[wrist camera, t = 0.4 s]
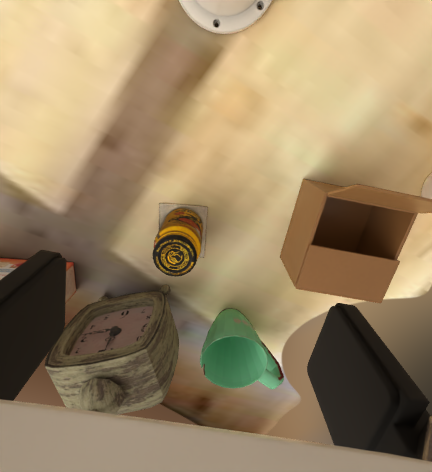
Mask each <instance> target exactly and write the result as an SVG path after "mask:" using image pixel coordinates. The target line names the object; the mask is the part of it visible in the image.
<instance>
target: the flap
mask: <svg viewBox="0 0 432 472" xmlns="http://www.w3.org/2000/svg"><path fill="white" fill-rule="evenodd" d="M328 195H330V196H335V197H341V198H346V199H351V200H356V201H361V202H366V203H371V204H376V205H381V206H386V207H391V208H396V209H401V210H406V211H412V212H417V213H432V199H429V198H424V197H419V196H414V195H409V194H404V193H399V192H394V191H389V190H384V189H379V188H374V187H370V186H365V185H360V184H356V185H352V186H349V187H345V188H342V189H338V190H335V191H331V192H328Z"/></svg>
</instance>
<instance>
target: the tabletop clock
mask: <svg viewBox="0 0 432 472" xmlns="http://www.w3.org/2000/svg"><path fill="white" fill-rule="evenodd" d="M169 292H170V287H169V286H168V285H163V286H162V287H161V291H148V292H141V293H134V294H128V295H123V296H118V297H114V298H109V299H108V298H107V297H106V296H103V297H101V298H100V299H99V301H98V302H95V303H92V304H89V305H87V306H86V307H85V308H83V309H82V310H81V311H80V312H79V313H78V314H77V315H76V316H75V317H74V318H73V319H72V320H71V321H70V323H69V324H68V325H67V326H66V327H65V329H64V330H63V332H62V334H61V336H60V337H59V338H58V340H57V341H56V342H55V344H54V345H53V347H52V348H51V349H50V351H49V353H48V355H47V358H46V362H45V367H46V369H47V371H48V373H49V375H50V377H51V379H52V381H53V383H54V385H55V386H56V388H57V390H58V392H59V394H60V396H61V398H62V400H63V401H64V404H65V406H66V407H67V408H73V409H80V410H87V411H95V412H102V413H110V414H122V413H127V412H132V411H137V410H142V409H146V408H150V407H153V406H155V405H157V404H159V403H161V402H162V401H163V399H164V398H165V396H166V394H167V392H168V389H169V386H170V383H171V380H172V378H173V375H174V371H175V367H176V363H177V359H178V349H179V338H178V333H177V330H176V326H175V323H174V320H173V317H172V314H171V310H170V307H169V304H168V301H167V297H166V295H167V294H169Z"/></svg>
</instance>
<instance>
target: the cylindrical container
mask: <svg viewBox="0 0 432 472" xmlns="http://www.w3.org/2000/svg"><path fill="white" fill-rule="evenodd" d="M421 196H422V197H424V198H429V199H432V173H431V174H430V175H429V176H428V177H427V178H426V180H425V182H424V184H423V187H422V191H421Z"/></svg>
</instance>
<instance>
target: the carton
mask: <svg viewBox="0 0 432 472" xmlns="http://www.w3.org/2000/svg"><path fill="white" fill-rule="evenodd" d="M342 188H345V187H341V186H336V185H331V184H326V183H321V182H316V181H311V180H306V179H303V181H302V184H301V188H300V191H299V194H298V198H297V201H296V204H295V208H294V211H293V215H292V218H291V221H290V225H289V228H288V231H287V235H286V238H285V241H284V245H283V248H282V252H281V255H280V258H281V260H282V262H283V264H284V266H285V268H286V270H287V272H288V274H289V276H290V278H291V280H292V282H293V284H294V286H295V287H296V289H301V290H307V291H312V292H318V293H324V294H330V295H336V296H342V297H347V298H353V299H359V300H365V301H371V302H377V303H381V302H382V300H383V298H384V296H385V293H386V291H387V289H388V287H389V285H390V282H391V280H392V278H393V276H394V274H395V271H396V269H397V267H398V265H399V263H400V261H398V260H397V258H398V256H399V254H400V252H401V250H402V247H403V245H404V243H405V241H406V238H407V236H408V234H409V232H410V230H411V227H412V225H413V223H414V221H415V219H416V216H417V214H418V213H417V212H412V211H406V210H401V209H396V208H391V207H386V206H381V205H376V204H371V203H366V202H361V201H356V200H351V199H346V198H341V197H335V196H330V195H328V192H331V191H335V190H338V189H342Z"/></svg>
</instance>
